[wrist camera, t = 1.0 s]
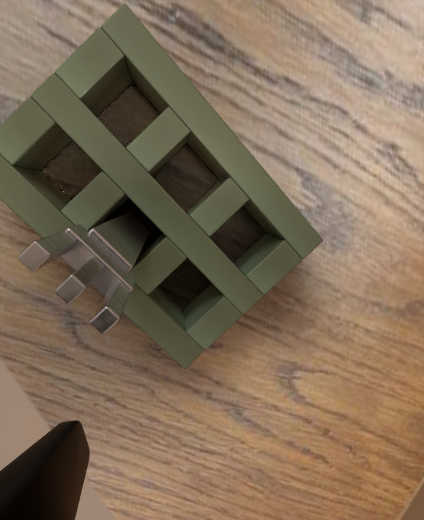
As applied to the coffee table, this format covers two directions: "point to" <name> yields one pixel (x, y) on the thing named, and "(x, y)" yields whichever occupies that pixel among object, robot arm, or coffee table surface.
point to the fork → (94, 263)
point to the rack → (152, 184)
